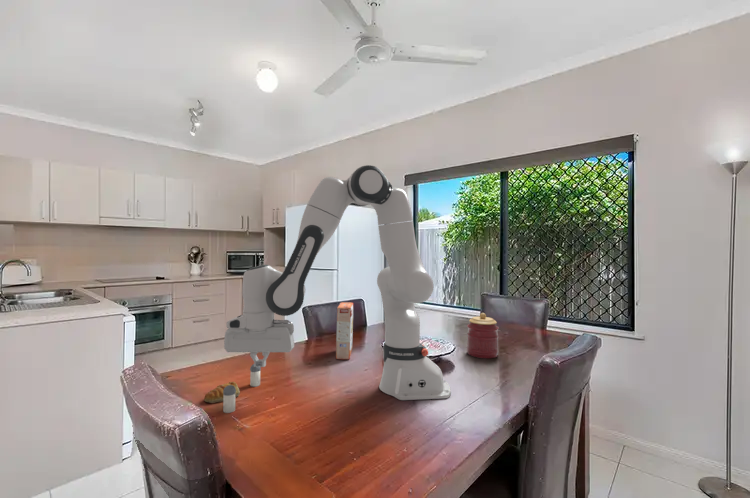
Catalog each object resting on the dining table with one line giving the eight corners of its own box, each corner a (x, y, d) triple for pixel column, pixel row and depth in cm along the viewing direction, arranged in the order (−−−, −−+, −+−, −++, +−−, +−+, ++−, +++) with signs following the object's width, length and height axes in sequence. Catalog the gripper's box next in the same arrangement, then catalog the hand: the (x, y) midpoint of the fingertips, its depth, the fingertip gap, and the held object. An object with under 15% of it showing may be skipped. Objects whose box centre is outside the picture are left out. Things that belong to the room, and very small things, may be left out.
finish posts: (262, 383, 116) (262, 362, 116) (232, 413, 95) (232, 388, 95) (252, 382, 117) (252, 362, 117) (220, 412, 95) (220, 387, 95)
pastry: (211, 407, 99) (211, 393, 99) (199, 400, 103) (199, 387, 103) (241, 396, 107) (241, 383, 107) (229, 390, 111) (229, 378, 111)
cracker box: (350, 360, 141) (351, 307, 141) (335, 359, 141) (336, 307, 141) (353, 349, 155) (353, 301, 155) (339, 349, 155) (340, 301, 155)
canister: (464, 349, 159) (465, 309, 159) (494, 350, 158) (495, 310, 158) (468, 358, 147) (469, 315, 146) (501, 360, 145) (502, 316, 145)
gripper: (296, 317, 108) (297, 362, 109) (231, 317, 110) (232, 362, 110) (290, 322, 102) (291, 370, 102) (220, 322, 103) (222, 370, 104)
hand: (260, 366), depth 106 cm, fingers closed
